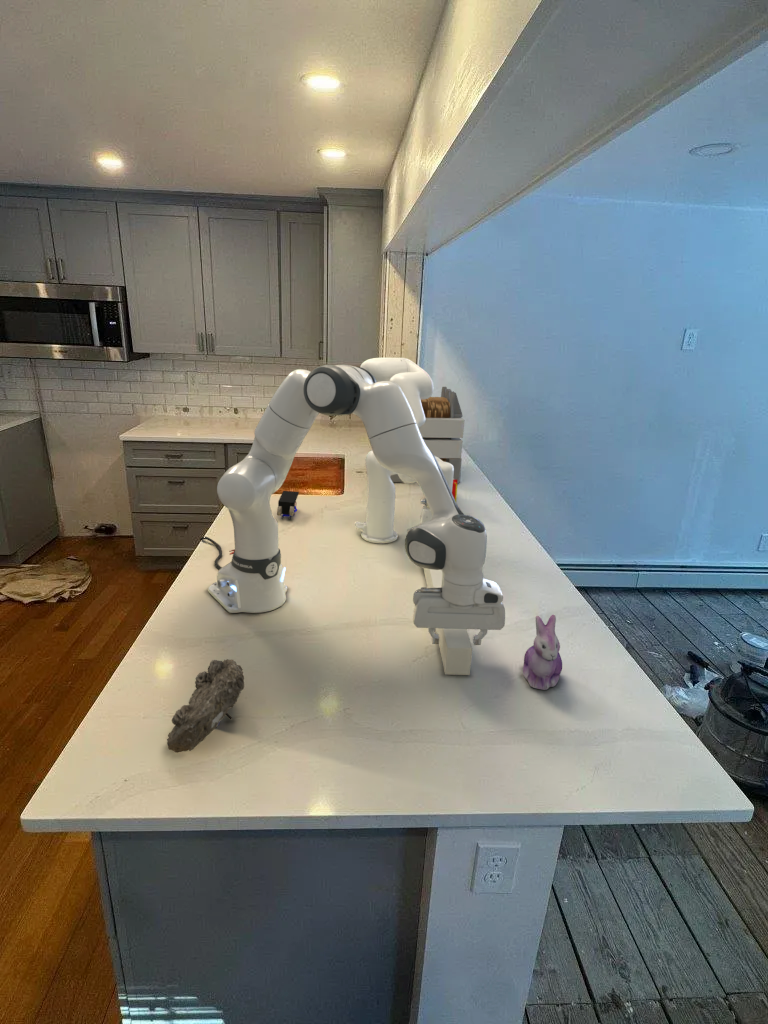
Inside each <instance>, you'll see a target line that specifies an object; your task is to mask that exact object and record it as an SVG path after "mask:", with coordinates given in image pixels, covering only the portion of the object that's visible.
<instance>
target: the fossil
mask: <svg viewBox="0 0 768 1024" xmlns="http://www.w3.org/2000/svg"><path fill="white" fill-rule="evenodd" d="M243 670H244V669H243V667H242V665H240V664H237V662H236V661H235V660H234V659H232V658H231V659H227V658H226V659H224V660H223V661H222V660H217V659H212V660H211V661H210V663H209V665H208V666H207V671H201V672H199V673H198V674H197V675H196V676H195V680H194V684H195V685H194V687H195V689H194V690H193V693H192V694H191V697H190V698H189V700H188V704H184V705H182V706H181V707H180V709H177V710H176V711H175V713H174V715H173V716H172V718H171V723H172V724H173V727H172V730H171V731H170V732H168V734H167V738H166V741H167V742H166V745H167V749H168V750H169V751H173V752H174V753H176V754H178V753H182V752H188V751H189V752H192V751H193V750H195V748H196V747H197V746H199V744H200V743H201V742H203V741H204V740H205V739H206V738H207V737H208V736H209V735H210V734H211V733H212V732H214V730H215V729H217V727H218V726H219V724H220V722H221V721H222V720H223V719H224V718H225V716H226V717H227V719H229V720H233V717H232V715H230V714H229V710H230V709H231V708H234V706H235V704H236V703H237V702H238V699H239V697H240V695H241V693H242V691H243V690H245V689H244V688H245V675H244V671H243Z"/></svg>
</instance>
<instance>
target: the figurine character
mask: <svg viewBox="0 0 768 1024" xmlns="http://www.w3.org/2000/svg"><path fill="white" fill-rule="evenodd" d="M299 494H300V492H299V491H291V490H283V491H282V492H281V495H280V497H279V499H278V501H277V508H276V515H277V516H281V518H280V520H284V518H288V520H289V521H290V520H291V519H292V517H293V516H295V513H297V512H298V509H297V499H298V496H299Z"/></svg>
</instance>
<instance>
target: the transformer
mask: <svg viewBox="0 0 768 1024" xmlns="http://www.w3.org/2000/svg"><path fill="white" fill-rule="evenodd" d="M440 393H441V394H440V396H431V397H429V398H428V399H422V400H421V404H422V407H423V411H424V414H425V418H426V421H425V423H424V424H423V425H422V426H421V427H419V428H418V429H419V431H420V434H421V436H422V438H423V440H424V442H425V444H426V446H427V447H428V449H429V450H430V451H431V452H432V453H433V455H434V456H437V457H438V458H440V459H441V460H442V461H443V462H448V463H450V464H452V465H453V467H454V476H453V479H455V480H457V484H459V483H461V472H462V461H463V460H462V453H463V442H464V441H463V440H462V439H463V438H464V431H465V430H464V429H465V419H464V418H463V411H462V408H461V405H460V402H459V398H458V395H457V392H455V391H453V390H452V389H451V388H447V386H442V387H441V392H440ZM390 478H391V480H392V482H393V483H403V481H402V480H401V479H400V478H399V476H398V474H394V475H391V476H390Z"/></svg>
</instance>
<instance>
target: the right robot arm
mask: <svg viewBox="0 0 768 1024" xmlns="http://www.w3.org/2000/svg"><path fill="white" fill-rule="evenodd" d="M359 367H361V368H364V369H366V370H367V371H369V372H370V373H371V374H372V375H373V376H374V377H375V379H376V381H377V382H379V381H391V382H394V383H396V384H397V385H398V386H399V387H400V388H401V390H402V392H403V393H404V395H405V397H406V399H407V401H408V403H409V405H410V407H411V410H412V412H413V415H414V417H415V420H416V424H417V426H418V428H419V427H421V426H422V425H423V424H424V423H425V421H426V418H425V414H424V411H423V407H422V404H421V400H422V399H428V398H429V397H432V395H433V394H434V389H435V388H434V381H433V379H432V377H431V376H430V374H429V373H428V372H427V371H426V370H425V369H423V368H422V367H421V366H419V365H418V364H417V363H415V362H414V361H413V360H411V359H409V358H407V357H373V358H369V359H368V358H367V359H366V360H365V361H363V362H362V363H361V365H360V366H359ZM435 458H436V460H437V461H438V463H439V466H440V468H441V470H442V472H443V474H444V476H445V479H446V481H447V483H448V485H449V488H450V490H451V492H452V487H453V476H454V467H453V465H452V464H450V463H448V462H443V461H442V460H441V459H440V458H438V457H437V456H435ZM364 465H365V470H366V480H367V483H366V486H367V488H366V490H367V491H366V519H365V520H366V521H364V522H362V521H355V522H354V527H355V529H356V530H361V534H360V535H361V538H362V539H363V540H364V541H366V542H368V543H373V544H389V543H393V542H395V541H397V540H398V537H399V534H398V532H397V531H396V530H395V528H394V527H395V510H396V509H395V508H396V507H395V506H396V485H395V482H392V480H391V478H390V476H391V475H394V474H398V476H399V478H400V479H401V480H402V483H405V484H414V483H417V482H416V481H415V480H414V479H413V478H411V477H409V476H407V475H405V474H401V473H396V472H392V471H390V470H388V469H386V468H384V467H383V466H382V465H380V463H379V462H378V460H377V459H376V457H375V455H374V453H373V451H372V449H371V450H369V451H368V452H367V453H366V455H365V459H364ZM420 505H423V506H422V509H421V513H420V516H419V517H420V518H419V524H417V525H414V526H412V527H410V528H408V529H407V530H406V534H407V533H408V532H409V531H410V530H411V529H413V528H414V527H416V526H418V525H420V524H422V523H424V522H427V521H429V520H431V519H432V512H431V510H430V508H429V505H428V503H427V501H426V499H425V498H423V499H422V498H421V499H420Z"/></svg>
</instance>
